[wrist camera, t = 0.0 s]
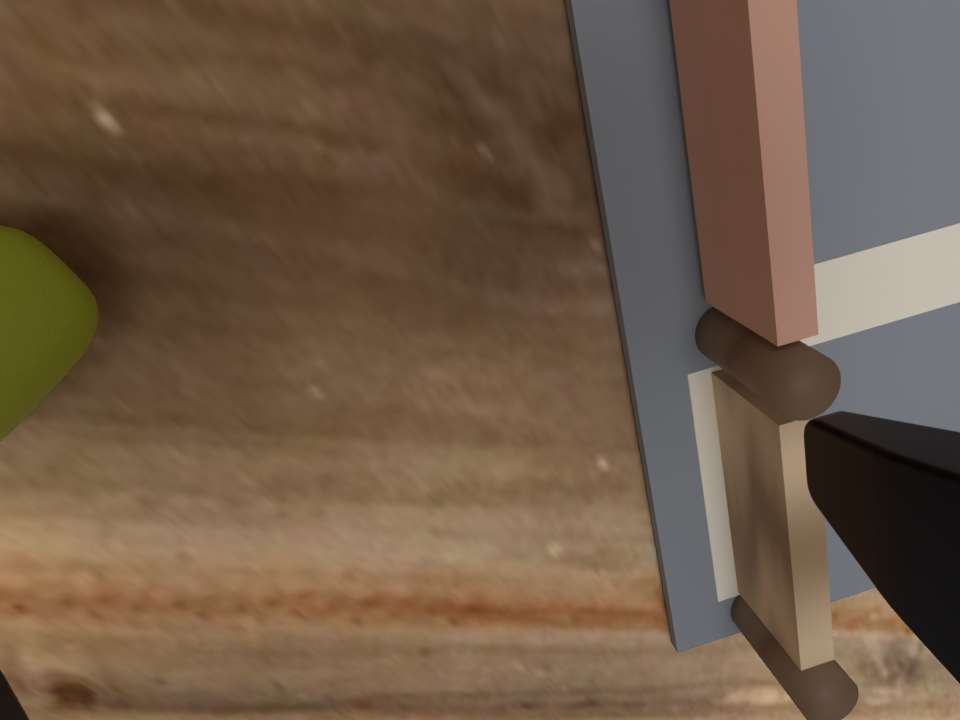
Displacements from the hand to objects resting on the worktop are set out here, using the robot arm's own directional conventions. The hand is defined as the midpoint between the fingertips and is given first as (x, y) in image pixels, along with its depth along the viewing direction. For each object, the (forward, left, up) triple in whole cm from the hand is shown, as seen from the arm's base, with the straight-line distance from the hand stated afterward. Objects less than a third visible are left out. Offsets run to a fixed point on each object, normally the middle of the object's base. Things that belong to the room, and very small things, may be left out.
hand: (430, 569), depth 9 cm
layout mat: (-5, -14, -15) cm, 21 cm away
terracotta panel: (+1, -10, -14) cm, 17 cm away
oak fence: (-10, -10, -14) cm, 20 cm away
